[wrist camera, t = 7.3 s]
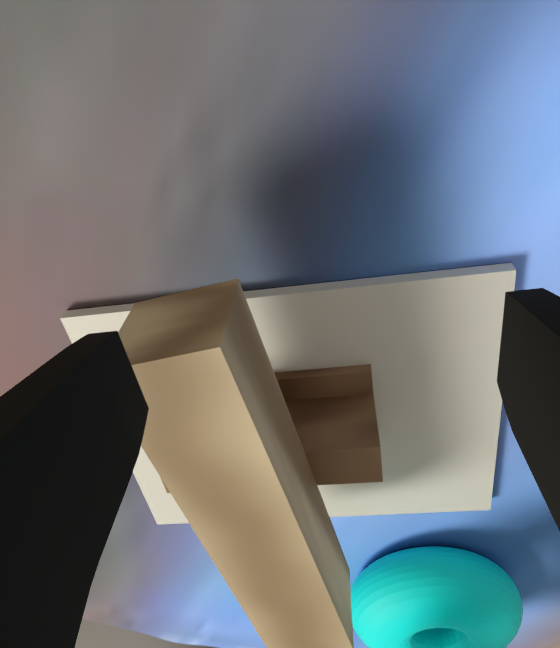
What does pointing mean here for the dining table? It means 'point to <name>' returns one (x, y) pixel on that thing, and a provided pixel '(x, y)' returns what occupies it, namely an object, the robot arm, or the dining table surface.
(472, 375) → the board
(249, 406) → the bar
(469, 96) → the dining table surface
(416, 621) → the donuts
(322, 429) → the block
